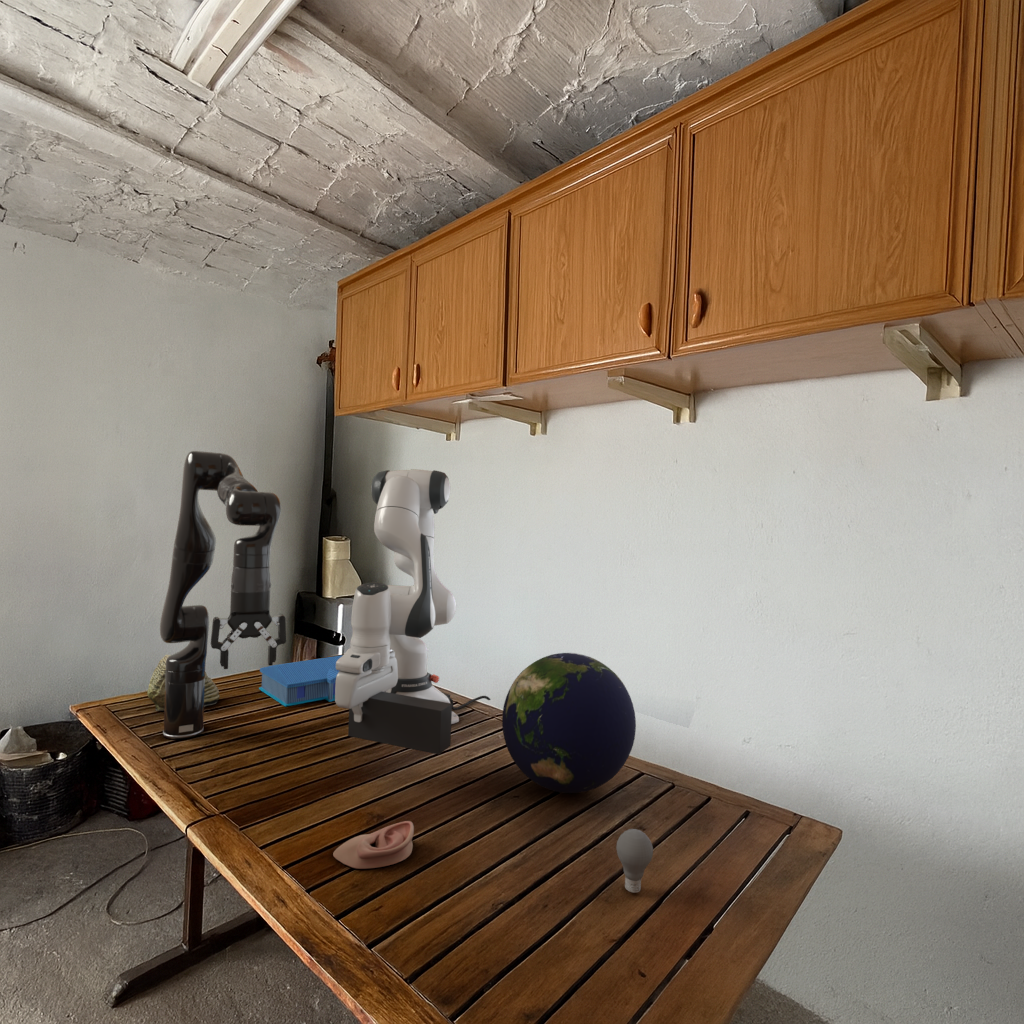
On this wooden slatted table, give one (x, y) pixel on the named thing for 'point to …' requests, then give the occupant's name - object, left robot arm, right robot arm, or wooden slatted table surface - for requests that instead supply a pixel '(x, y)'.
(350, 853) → the anatomical model
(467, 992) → the wooden slatted table surface
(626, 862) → the light bulb
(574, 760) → the globe
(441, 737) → the bar
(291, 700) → the model building
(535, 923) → the wooden slatted table surface
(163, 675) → the fossil
